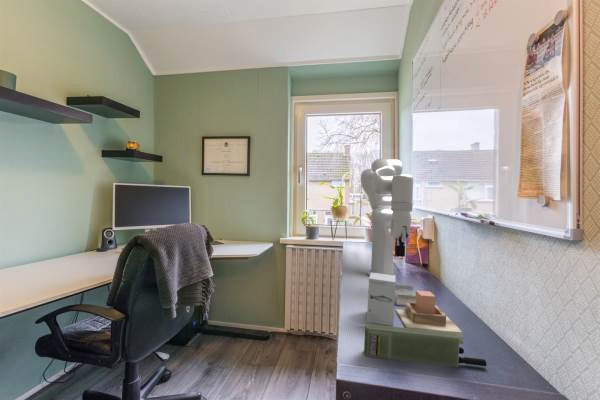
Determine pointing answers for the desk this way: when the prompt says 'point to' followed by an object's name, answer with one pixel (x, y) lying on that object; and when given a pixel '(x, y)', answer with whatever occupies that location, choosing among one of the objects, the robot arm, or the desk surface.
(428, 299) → the block
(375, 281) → the supplement box
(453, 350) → the handheld radio
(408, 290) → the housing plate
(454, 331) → the socket board
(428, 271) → the desk surface
